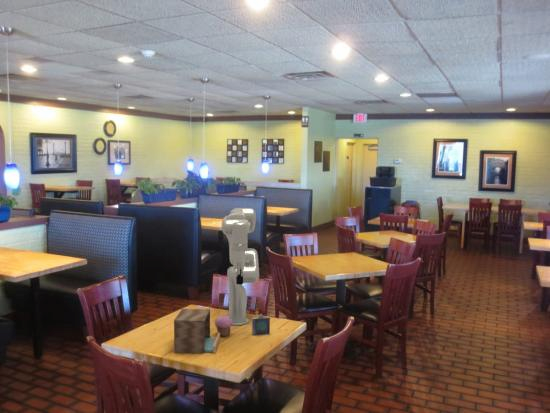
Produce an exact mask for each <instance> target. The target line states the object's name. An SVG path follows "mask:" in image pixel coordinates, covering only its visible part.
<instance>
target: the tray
mask: <svg viewBox="0 0 550 413" xmlns="http://www.w3.org/2000/svg"><path fill="white" fill-rule="evenodd" d="M220 341H221V335H220V333H218V332H217V335H216V337H210V338H204V342H205V353H212V354H216V352H217V348H218V345H219V343H220Z"/></svg>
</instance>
